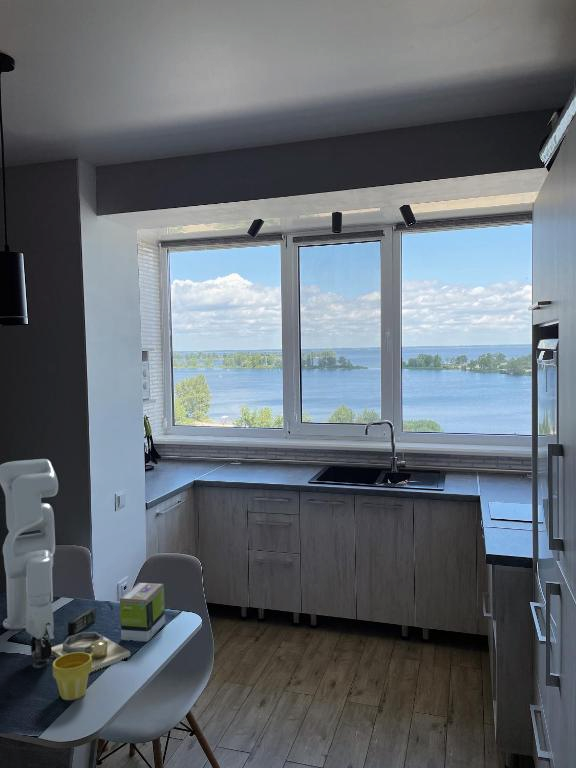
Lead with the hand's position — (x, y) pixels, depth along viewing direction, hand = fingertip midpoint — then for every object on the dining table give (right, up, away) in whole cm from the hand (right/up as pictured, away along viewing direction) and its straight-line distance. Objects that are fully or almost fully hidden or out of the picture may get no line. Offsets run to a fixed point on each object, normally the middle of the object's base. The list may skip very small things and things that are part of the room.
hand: (41, 654), depth 186 cm
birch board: (+13, -3, +6) cm, 15 cm away
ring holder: (+10, -1, +8) cm, 13 cm away
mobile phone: (+4, -3, +27) cm, 27 cm away
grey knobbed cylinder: (0, -3, 0) cm, 3 cm away
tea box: (+27, -2, +22) cm, 35 cm away
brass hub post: (+18, -1, +1) cm, 18 cm away
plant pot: (+16, -3, -18) cm, 24 cm away
